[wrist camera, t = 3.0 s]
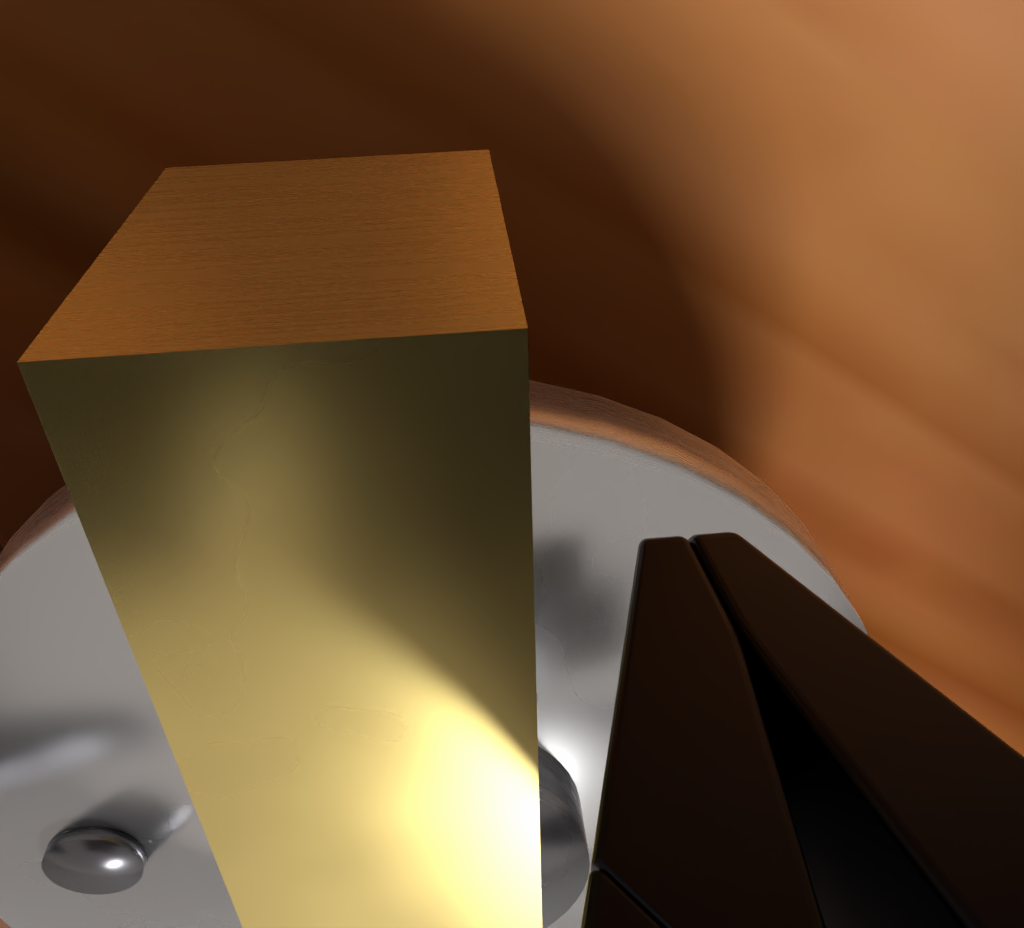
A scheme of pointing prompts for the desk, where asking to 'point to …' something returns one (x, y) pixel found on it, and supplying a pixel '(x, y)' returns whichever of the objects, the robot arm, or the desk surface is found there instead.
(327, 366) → the flange plate
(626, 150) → the desk surface
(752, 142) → the desk surface
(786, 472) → the desk surface
